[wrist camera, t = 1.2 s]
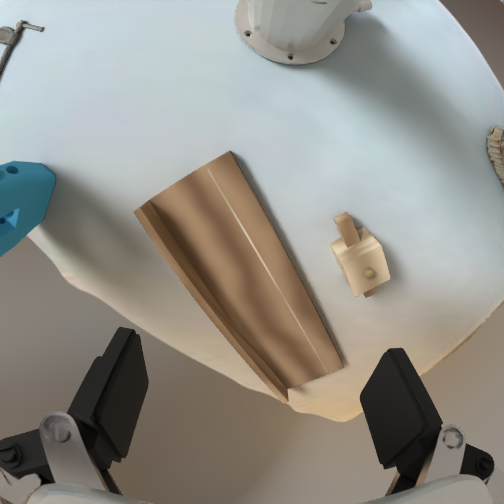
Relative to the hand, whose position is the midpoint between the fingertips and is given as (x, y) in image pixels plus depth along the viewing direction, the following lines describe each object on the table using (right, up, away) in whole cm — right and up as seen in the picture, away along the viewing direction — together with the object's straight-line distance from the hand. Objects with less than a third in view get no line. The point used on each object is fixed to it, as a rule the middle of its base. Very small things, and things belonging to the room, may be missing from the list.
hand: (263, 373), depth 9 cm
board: (+1, -2, +29) cm, 29 cm away
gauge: (+13, +5, +26) cm, 29 cm away
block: (-32, +13, +22) cm, 41 cm away
